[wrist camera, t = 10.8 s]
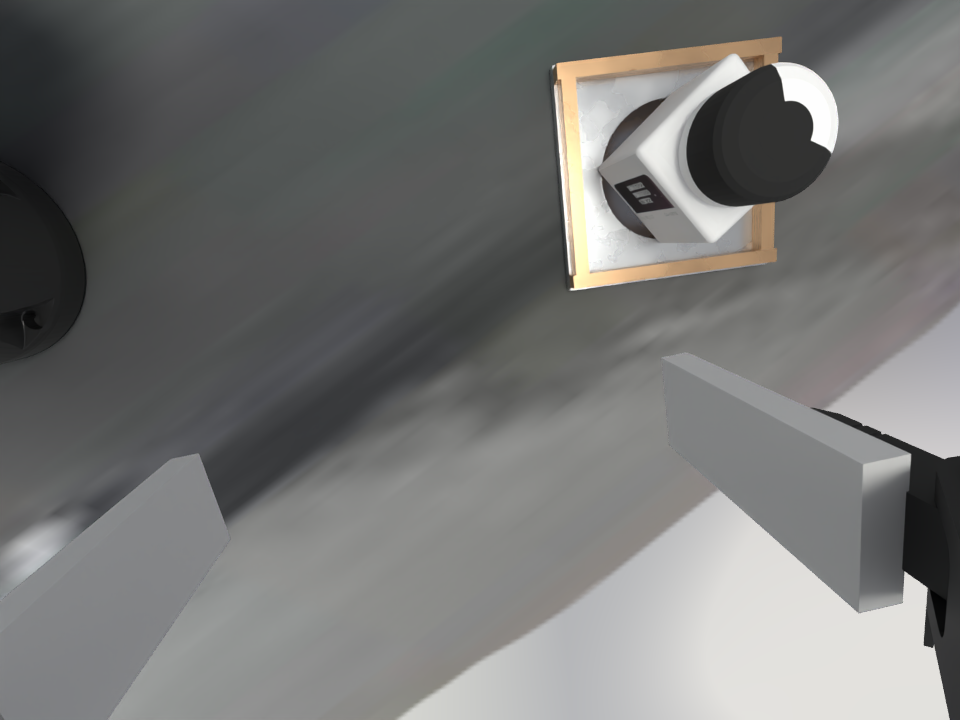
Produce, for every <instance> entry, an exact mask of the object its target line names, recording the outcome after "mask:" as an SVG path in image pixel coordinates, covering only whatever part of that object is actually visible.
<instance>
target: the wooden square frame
mask: <svg viewBox="0 0 960 720" xmlns="http://www.w3.org/2000/svg"><path fill="white" fill-rule="evenodd" d="M780 53H782V37H774V38H766V39H757V40H749V41H740V42H732V43H723V44H715V45H707V46H698V47H690V48H681V49H673V50H665V51H656V52H648V53H639V54H631V55H622V56H614V57H606V58H597V59H589V60H580V61H572V62H563V63H556V65H553V66H552V67H551V69H550V70H549V72H550V84H551V96H552V108H553V120H554V132H555V144H556V156H557V169H558V181H559V193H560V205H561V217H562V229H563V241H564V253H565V265H566V278H567V290H570V291H573V290H580V289H588V288H595V287H602V286H609V285H617V284H624V283H631V282H639V281H646V280H653V279H660V278H668V277H675V276H682V275H689V274H697V273H704V272H711V271H719V270H726V269H733V268H740V267H748V266H755V265H762V264H766V263H768V262H775V261H777V248H774V214H775V202H773V203H765V204H757V205H754V206H753V207H752V208H751V209H750V210H749V211H748V212H747V213H746V214H745V215H743V216H742V217H741V218H740V219H739V220H738V221H737V222H736V223H735V224H734V225H733V226H732V227H731V228H730V229H729V230H728V231H727V232H726V233H725V234H724V235H722V236H721V237H720V238H719V239H718V240H717V241H716V242H714V243H660V242H659V241H658V240H657V239H656V238H655V237H654V235H653V234H652V233H651V232H650V231H649V230H648V228H647V227H646V226H645V225H644V224H643V222H642V221H641V220H640V219H639V218H638V217H637V215H636V214H635V213H634V212H633V211H632V210H631V208H630V207H629V206H628V205H627V204H626V203H625V201H624V200H623V199H622V198H621V197H620V196H619V194H618V193H617V192H616V191H615V190H614V189H613V187H612V186H611V185H610V184H609V183H608V182H607V180H606V179H605V178H604V177H603V176H602V175H601V173H600V172H599V167H600V166H601V164H602V163H603V162H604V161H605V160H606V159H607V158H608V157H609V156H610V155H611V154H612V153H613V152H614V151H615V150H616V149H617V148H618V147H619V146H620V145H621V144H622V143H623V142H624V141H625V140H626V139H627V138H628V137H629V136H630V135H631V134H632V133H633V132H634V131H635V130H636V129H637V128H638V127H639V126H640V125H641V124H642V123H643V122H644V121H645V120H646V119H647V118H648V117H649V116H650V115H651V114H652V113H653V112H654V111H655V109H656V108H657V107H658V106H659V105H660V104H661V103H662V102H663V101H664V100H665V99H666V98H667V97H668V96H669V95H670V94H671V93H672V92H674V91H675V90H677V89H678V88H680V87H681V86H683V85H684V84H686V83H687V82H689V81H690V80H692V79H693V78H695V77H696V76H698V75H699V74H701V73H702V72H704V71H705V70H707V69H708V68H710V67H711V66H713V65H714V64H716V63H718V62H719V61H721V60H722V59H724V58H725V57H727V56H728V55H730V54H737V55H738V56H739V57H740V59H741V60H742V61H743V63H744V64H745V66H746V67H747V68H748V70H749V71H750V72H752V71H754V70H756V69H758V68H760V67H762V66H766V65H769V64H773V63H778V54H780Z"/></svg>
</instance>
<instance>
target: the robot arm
mask: <svg viewBox="0 0 960 720" xmlns="http://www.w3.org/2000/svg"><path fill="white" fill-rule="evenodd" d="M84 288H85V270H84V263H83V258H82V254H81V250H80V247H79V244H78V241H77V239H76V237H75V234H74V232H73V230H72V228H71V226H70V224H69V223H68V221H67V220H66V218H65V216H64V215H63V213H62V212H61V211H60V209H59V208H58V207H57V205H56V204H55V203H54V202H53V201H52V200H51V199H50V197H49V196H48V195H47V194H46V193H45V192H44V191H43V190H42V189H40V188H39V187H38V186H37V185H36V184H35V183H33V182H32V181H31V180H30V179H28V178H27V177H25V176H24V175H22V174H21V173H20V172H18V171H16V170H15V169H13V168H11V167H9V166H7V165H5V164H3V163H1V162H0V364H3V363H7V362H11V361H14V360H18V359H22V358H25V357H29V356H32V355H34V354H37V353H39V352H41V351H43V350H45V349H47V348H48V347H50V346H51V345H53V344H54V343H55V342H57V341H58V340H59V339H60V338H61V337H62V336H63V335H64V334H65V333H66V332H67V331H68V329H69V328H70V327H71V325H72V324H73V322H74V320H75V319H76V317H77V315H78V312H79V310H80V307H81V304H82V300H83V295H84ZM661 360H662V371H663V383H664V394H665V405H666V416H667V428H668V439H669V446H671V447H672V448H673V449H674V450H675V451H676V452H677V453H679V454H680V455H681V456H682V457H683V458H684V459H685V460H686V461H688V462H689V463H690V464H691V465H692V466H693V467H694V468H695V469H697V470H698V471H699V472H700V473H701V474H702V475H703V476H704V477H706V478H707V479H708V480H709V481H710V482H711V483H712V484H713V485H715V486H716V487H717V488H718V489H719V490H720V491H721V492H722V493H724V494H725V495H726V496H727V497H728V498H729V499H730V500H732V501H733V502H734V503H735V504H736V505H737V506H739V508H741V509H742V510H743V511H744V512H745V513H746V514H748V515H749V516H750V517H751V518H752V519H753V520H754V521H755V522H756V523H757V524H759V525H760V526H761V527H762V528H763V529H764V530H765V531H767V532H768V533H769V534H770V535H771V536H772V537H773V538H774V539H776V540H777V541H778V542H779V543H780V544H781V545H782V546H783V547H785V548H786V549H787V550H788V551H789V552H790V553H791V554H793V555H794V556H795V557H796V558H797V559H798V560H799V561H800V562H802V563H803V564H804V565H805V566H806V567H807V568H808V569H809V570H810V571H812V572H813V573H814V574H815V575H816V576H817V577H818V578H820V579H821V580H822V581H823V582H824V583H825V584H826V585H828V586H829V587H830V588H831V589H832V590H833V591H834V592H835V593H837V594H838V595H839V596H840V597H841V598H842V599H843V600H844V601H845V602H847V603H848V604H849V605H850V606H851V607H852V608H854V610H856V611H857V612H858V613H862V612H867V611H871V610H875V609H880V608H884V607H888V606H892V605H897V604H901V603H903V586H904V571H905V572H907V573H908V574H909V575H911V576H912V577H914V578H915V579H916V580H918V581H920V582H921V583H922V584H923V585H925V586H926V587H928V592H927V606H926V620H925V634H924V646H928V647H931V648H933V646H935V651H936V656H937V660H938V665H939V670H940V675H941V679H942V684H943V689H944V694H945V699H946V703H947V708H948V713H949V718H950V720H960V456H957V457H950V458H947V459H942V458H940V457H938V456H935V455H933V454H931V453H928V452H926V451H924V450H922V449H919V448H917V447H915V446H912V445H910V444H908V443H905V442H903V441H901V440H899V439H896V438H894V437H892V436H889V435H887V434H883V435H882V434H881V432H880V431H878V430H876V429H873V428H871V427H869V426H862V424H861V423H859V422H857V421H855V420H852V419H850V418H848V417H846V416H843V415H841V414H838V413H833V412H829V411H825V410H820V409H816V408H809V407H807V406H805V405H802V404H800V403H798V402H796V401H794V400H791V399H789V398H787V397H785V396H782V395H780V394H778V393H776V392H774V391H771V390H769V389H767V388H765V387H763V386H760V385H758V384H756V383H754V382H752V381H749V380H747V379H745V378H743V377H741V376H738V375H736V374H734V373H732V372H730V371H727V370H725V369H723V368H721V367H719V366H716V365H714V364H712V363H710V362H707V361H705V360H703V359H701V358H699V357H696V356H694V355H692V354H690V353H688V352H686V353H681V354H677V355H672V356H667V357H662V358H661ZM229 541H230V536H229V533H228V531H227V528H226V525H225V523H224V520H223V517H222V515H221V512H220V509H219V507H218V504H217V501H216V499H215V496H214V493H213V490H212V488H211V485H210V482H209V480H208V477H207V474H206V472H205V469H204V466H203V464H202V461H201V458H200V456H199V453H198V454H193V455H188V456H183V457H178V458H173V459H170V460H169V461H168V462H166V463H165V464H164V465H163V466H162V467H160V468H159V469H158V470H157V471H156V472H154V473H153V474H152V475H151V476H150V477H148V478H147V479H146V480H145V481H144V482H142V483H141V484H140V485H139V486H138V487H136V488H135V489H134V490H133V491H132V492H130V493H129V494H128V495H127V496H126V497H124V498H123V499H122V500H121V501H120V502H118V503H117V504H116V505H115V506H113V507H112V508H111V509H110V510H109V511H107V512H106V513H105V514H104V515H103V516H101V517H100V518H99V519H98V520H97V521H95V522H94V523H93V524H92V525H91V526H89V527H88V528H87V529H86V530H85V531H83V532H82V533H81V534H80V535H79V536H77V537H76V538H75V539H74V540H73V541H71V542H70V543H69V544H68V545H67V546H65V547H64V548H63V549H62V550H61V551H59V552H58V553H57V554H56V555H55V556H53V557H52V558H51V559H50V560H49V561H47V562H46V563H45V564H44V565H43V566H41V567H40V568H39V569H38V570H37V571H35V572H34V573H33V574H32V575H31V576H29V577H28V578H27V579H26V580H25V581H23V582H22V583H21V584H20V585H19V586H17V587H16V588H15V589H14V590H13V591H11V592H10V593H9V594H8V595H7V596H5V597H4V598H3V599H2V600H1V601H0V720H108V718H109V717H110V715H111V714H112V712H113V711H114V709H115V708H116V707H117V705H118V704H119V702H120V701H121V699H122V698H123V696H124V695H125V693H126V692H127V690H128V689H129V687H130V686H131V685H132V683H133V682H134V680H135V679H136V677H137V676H138V674H139V673H140V671H141V670H142V668H143V667H144V665H145V664H146V663H147V661H148V660H149V658H150V657H151V655H152V654H153V652H154V651H155V649H156V648H157V646H158V645H159V643H160V642H161V641H162V639H163V638H164V636H165V635H166V633H167V632H168V630H169V629H170V627H171V626H172V624H173V623H174V621H175V620H176V619H177V617H178V616H179V614H180V613H181V611H182V610H183V608H184V607H185V605H186V604H187V602H188V601H189V599H190V598H191V597H192V595H193V594H194V592H195V591H196V589H197V588H198V586H199V585H200V583H201V582H202V580H203V579H204V577H205V576H206V575H207V573H208V572H209V570H210V569H211V567H212V566H213V564H214V563H215V561H216V560H217V558H218V557H219V555H220V554H221V553H222V551H223V550H224V548H225V547H226V545H227V544H228V542H229Z"/></svg>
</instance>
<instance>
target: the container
mask: <svg viewBox="0 0 960 720" xmlns="http://www.w3.org/2000/svg"><path fill="white" fill-rule="evenodd" d="M837 132H838V113H837V107H836V103H835V100H834V98H833V95H832V93H831V91H830V90H829V88H828V86H827V85H826V83H825V82H824V81H823V80H822V79H821V78H820V77H819V76H818V75H817V74H816V73H815V72H813V71H812V70H810V69H808V68H806V67H804V66H801V65H799V64H794V63H784V62H780V63H773V64H769V65H766V66H762V67H760V68H758V69H756V70H754V71H752V72H750V71H749V70H748V68H747V67H746V66H745V64H744V63H743V61H742V60H741V59H740V57H739V56H738V55H737V54H730V55H728V56H727V57H725V58H724V59H722V60H721V61H719V62H718V63H716V64H714V65H713V66H711V67H710V68H708V69H707V70H705V71H704V72H702V73H701V74H699V75H698V76H696V77H695V78H693V79H692V80H690V81H689V82H687V83H686V84H684V85H683V86H681V87H680V88H678V89H677V90H675V91H674V92H672V93H671V94H670V95H669V96H668V97H667V98H666V99H665V100H664V101H663V102H662V103H661V104H660V105H659V106H658V107H657V108H656V109H655V111H654V112H653V113H652V114H651V115H650V116H649V117H648V118H647V119H646V120H645V121H644V122H643V123H642V124H641V125H640V126H639V127H638V128H637V129H636V130H635V131H634V132H633V133H632V134H631V135H630V136H629V137H628V138H627V139H626V140H625V141H624V142H623V143H622V144H621V145H620V146H619V147H618V148H617V149H616V150H615V151H614V152H613V153H612V154H611V155H610V156H609V157H608V158H607V159H606V160H605V161H604V162H603V163H602V164H601V166H600V167H599V172H600V173H601V175H602V176H603V177H604V178H605V179H606V180H607V182H608V183H609V184H610V185H611V186H612V187H613V189H614V190H615V191H616V192H617V193H618V194H619V196H620V197H621V198H622V199H623V200H624V201H625V203H626V204H627V205H628V206H629V207H630V208H631V210H632V211H633V212H634V213H635V214H636V215H637V217H638V218H639V219H640V220H641V221H642V222H643V224H644V225H645V226H646V227H647V228H648V230H649V231H650V232H651V233H652V234H653V235H654V237H655V238H656V239H657V240H658V241H659V242H660V243H714V242H716V241H717V240H718V239H719V238H720V237H721V236H722V235H724V234H725V233H726V232H727V231H728V230H729V229H730V228H731V227H732V226H733V225H734V224H735V223H736V222H737V221H738V220H739V219H740V218H741V217H742V216H743V215H745V214H746V213H747V212H748V211H749V210H750V209H751V208H752V207H753V206H754V205H757V204H765V203H773V202H779V201H783V200H786V199H788V198H791V197H793V196H795V195H797V194H799V193H800V192H802V191H803V190H805V189H806V188H807V187H808V186H809V185H811V184H812V183H813V182H814V181H815V180H816V178H817V177H818V176H819V175H820V174H821V172H822V171H823V169H824V168H825V166H826V165H827V163H828V161H829V159H830V157H831V154H832V152H833V149H834V146H835V142H836V138H837Z"/></svg>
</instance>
